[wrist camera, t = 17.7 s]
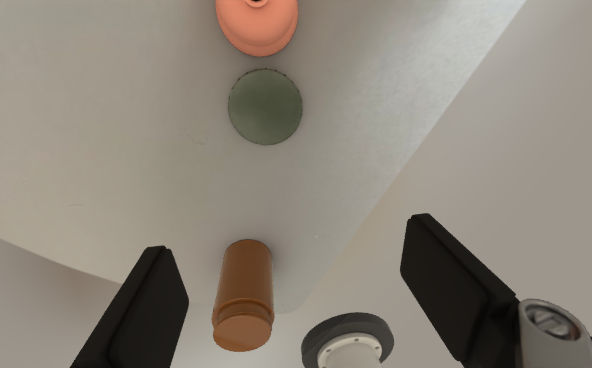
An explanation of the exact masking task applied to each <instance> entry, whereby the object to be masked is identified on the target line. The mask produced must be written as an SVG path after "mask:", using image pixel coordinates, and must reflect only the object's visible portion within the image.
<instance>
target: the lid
mask: <svg viewBox="0 0 592 368" xmlns="http://www.w3.org/2000/svg"><path fill="white" fill-rule="evenodd" d="M228 108H229V115H230V118H231V121H232V123H233V125H234V127H235V128H236V130H237V131H238V132H239V133H240V134H241V135H242V136H243V137H244V138H246V139H247V140H249V141H251V142H253V143H256V144H261V145H272V144H277V143H280V142H282V141H284V140H286V139H287V138H288V137H290V136H291V135H292V134H293V133H294V131H295V130H296V129H297V127H298V125H299V123H300V120H301V116H302V100H301V97H300V94H299V90H298V89H297V88H296V87H295V85H294V84H293V82H292V81H290V80H289V79H288V78H287V77H286V75H285V74H284V75H283V74H281V73H279V72H277V71H276V70H275V71H274V70H271V69H267V68H265V69H258V70H257V69H255V70H254V71H251V72H249V73H248V72H247V73H246V75H244V76H243V77H242V78H241V79H240V78H239V79H238V82H237V83H236V84H235V86H234V87H233V88H232V92H231V94H230V97H229V107H228Z"/></svg>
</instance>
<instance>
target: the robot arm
mask: <svg viewBox="0 0 592 368" xmlns="http://www.w3.org/2000/svg"><path fill="white" fill-rule="evenodd" d="M400 272H401V276H402V278H403V279H404V281H405V282H406V284H407V286H408V287H409V289H410V290H411V292H412V294H413V295H414V297H415V298H416V300H417V301H418V303H419V304H420V306H421V308H422V309H423V310H424V312H425V314H426V315H427V317H428V319H429V320H430V322H431V323H432V325H433V326H434V328H435V330H436V331H437V332H438V334H439V336H440V337H441V339H442V341H443V342H444V343H445V345H446V347H447V348H448V350H449V351H450V353H451V354H452V356H453V357H454V359H455V360H457V361H460V362H461V363H462V365H463V366H464V368H592V337H591V336H590V335H589V333H588V331H587V329H586V327H585V326H584V325H583V324H582V323H581V322H580V321H579V319H577V318H576V317H575V316H573V315H572V314H571V313H569V312H568V311H567V310H565V309H563V308H561V307H559V306H557V305H555V304H552V303H550V302H548V301H544V300H540V299H526V300H523V301H522V302H520V301H519V300H518V299H517V298H516V297H515V295H516V294H515V293H514V292H513V291H512V290H511V289H510V288H509V287H508V286H507V285H506V284H504V283H503V282H502V281H501V280H500V279H499V278H498V277H497V276H496V275H495V274H494V273H492V272H491V270H489V269H488V268H487V267H486V266H485V265H484V264H483V263H482V262H481V261H480V260H479V259H478V258H476V257H475V256H474V255H473V254H472V253H471V252H470V251H469V250H468V249H467V248H466V247H465V246H463V245H462V244H461V243H460V242H459V241H458V240H457V239H456V238H455V237H453V235H451V234H450V233H449V232H448V231H447V230H446V229H445V228H444V227H443V226H442V225H441V224H440V223H438V222H437V221H436V220H435V219H434V218H433V217H432V216H431V215H430V214H428V213H424V214H416V215H412V217H411V219H408V221H407V226H406V233H405V239H404V246H403V253H402V259H401V266H400ZM188 306H189V298H188V295H187V292H186V290H185V287H184V284H183V281H182V279H181V276H180V273H179V270H178V268H177V265H176V262H175V259H174V257H173V254H172V251H171V250H170V249H166V247H165V246H154V247H148V248H146V249H145V250H144V252H143V253H142V255H141V257H140V258H139V260H138V261H137V263H136V265H135V266H134V268H133V269H132V271H131V272H130V274H129V276H128V277H127V279H126V280H125V282H124V283H123V285H122V287H121V288H120V290H119V291H118V293H117V294H116V296H115V298H114V299H113V300H112V302H111V304H110V305H109V307H108V308H107V310H106V311H105V313H104V315H103V316H102V318H101V319H100V321H99V322H98V324H97V326H96V327H95V329H94V330H93V332H92V333H91V335H90V337H89V338H88V340H87V341H86V343H85V345H84V346H83V348H82V349H81V351H80V352H79V354H78V355H77V357H76V359H75V360H74V362H73V363H72V365H71V367H70V368H170V365H171V362H172V359H173V355H174V352H175V349H176V345H177V342H178V339H179V336H180V332H181V329H182V326H183V323H184V319H185V317H186V313H187V310H188ZM381 353H382V348H381V345H380V343H379V341H378V339H377V338H375V337H374V336H372V335H370V334H367V333H359V332H356V333H348V334H343V335H340V336H338V337H335V338H333V339H331V340H330V341H328V342H327V343H326V344H324V345H323V347H322V348H321V349H320V350H319V352H318V355H317V361H318V366H319V368H382V366H381V364H380V361H379V358H380V356H381Z"/></svg>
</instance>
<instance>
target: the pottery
mask: <svg viewBox="0 0 592 368" xmlns="http://www.w3.org/2000/svg"><path fill="white" fill-rule="evenodd" d="M216 12H217V17H218V21H219V24H220V26H221V28H222V31H223V33H224V34H225V36H226V37H227V39H228V40H229V41H230V42H231V43H232V44H233V45H234V46H235V47H236V48H237V49H239V50H240V51H242V52H244V53H246V54H248V55H252V56H260V57H264V56H269V55H272V54H274V53H277V52H278V51H280V50H281V49H282V48H284V47H285V46H286V44H287V43H288V42H289V41H290V39H291V38H292V36H293V34H294V31H295V29H296V25H297V20H298V4H297V0H216Z"/></svg>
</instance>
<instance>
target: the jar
mask: <svg viewBox="0 0 592 368" xmlns="http://www.w3.org/2000/svg"><path fill="white" fill-rule="evenodd" d="M273 321H274V296H273V275H272V255H271V252H270V250H269V249H268V247H267V246H265V245H264V244H263V243H261V242H258V241H255V240H241V241H238V242H235V243H234V244H232V245H231V246H229V247H228V248H227V250H226V251H225V253H224V257H223V262H222V267H221V273H220V278H219V283H218V288H217V293H216V299H215V304H214V309H213V314H212V324H213V327H214V331H213V338H214V341H215V342H216V344H217V345H219V346H220V347H221V348H224V349H226V350H229V351H234V352H245V351H250V350H254V349H257V348H259V347H261V346H262V345H264V344H265V343H266V342H267V341H268V340H269V338H270V335H271V331H272V324H273Z"/></svg>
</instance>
